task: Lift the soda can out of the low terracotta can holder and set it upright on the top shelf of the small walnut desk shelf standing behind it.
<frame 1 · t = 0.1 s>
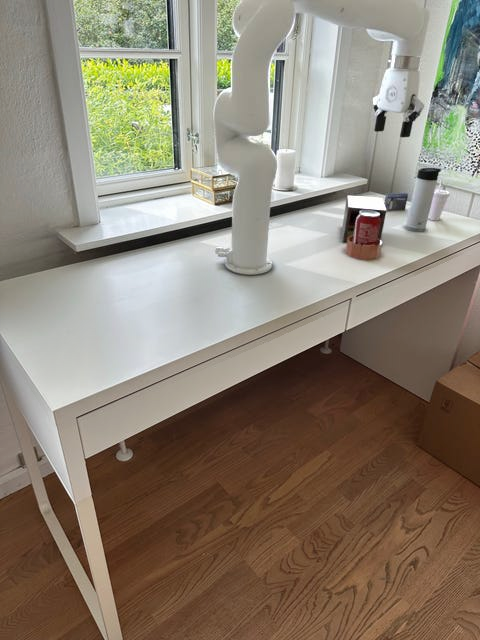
hand: (391, 134, 131), 31 cm above the table, tool pointing down, fingers open, 9 cm apart
mini dv tape: (393, 210, 175), on the table
can holder: (362, 253, 137), on the table
soda can: (362, 253, 137), resting in can holder
travel mug: (415, 229, 158), on the table
smoothie: (433, 219, 168), on the table
desk shelf: (360, 236, 149), on the table
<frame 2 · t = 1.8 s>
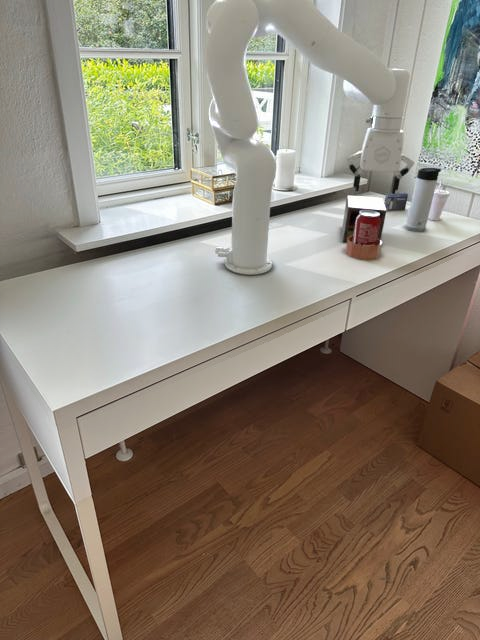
hand: (374, 191, 128), 18 cm above the table, tool pointing down, fingers open, 9 cm apart
nothing on the table moved.
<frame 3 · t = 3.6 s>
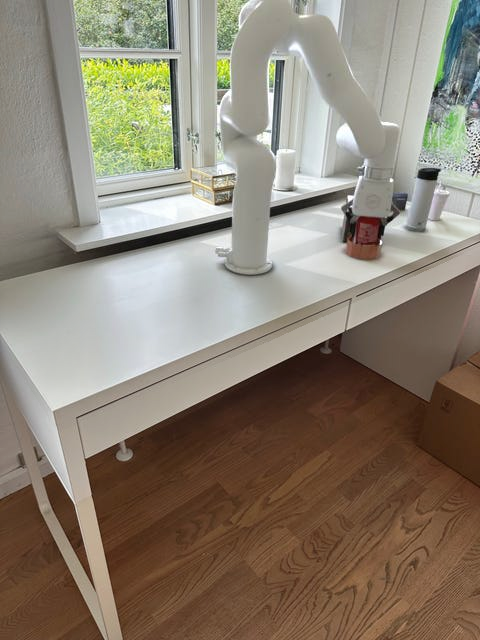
hand: (365, 236, 134), 5 cm above the table, tool pointing down, fingers closed on soda can, 6 cm apart
soda can: (362, 253, 137), resting in can holder, touching gripper
everything else where it was.
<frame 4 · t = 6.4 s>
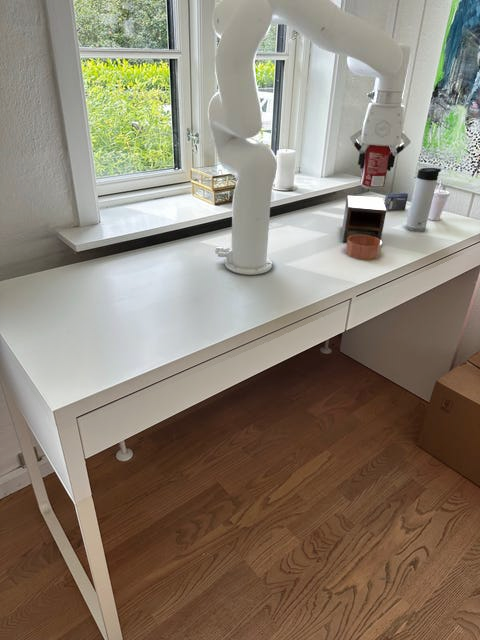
hand: (374, 168, 131), 23 cm above the table, tool pointing down, fingers closed on soda can, 6 cm apart
soda can: (371, 187, 134), point 17 cm above the table, touching gripper
everything else where it was.
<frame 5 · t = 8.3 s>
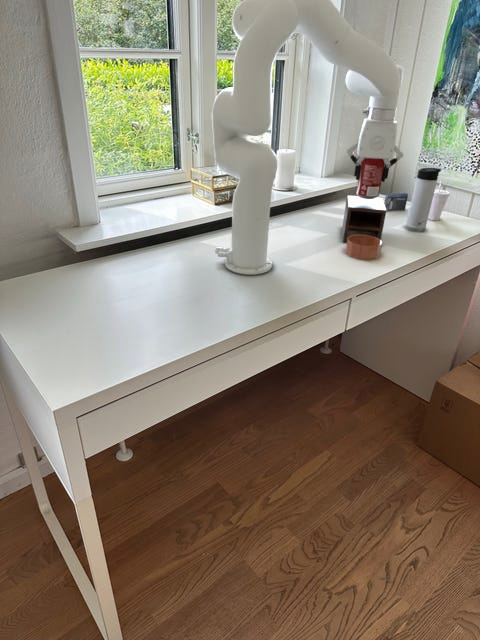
hand: (369, 179, 140), 18 cm above the table, tool pointing down, fingers closed on soda can, 6 cm apart
soda can: (366, 197, 142), point 13 cm above the table, touching gripper
everything else where it was.
when the fingers open (16 cm above the table, at t = 9.4 s): soda can stays where it is, resting on desk shelf.
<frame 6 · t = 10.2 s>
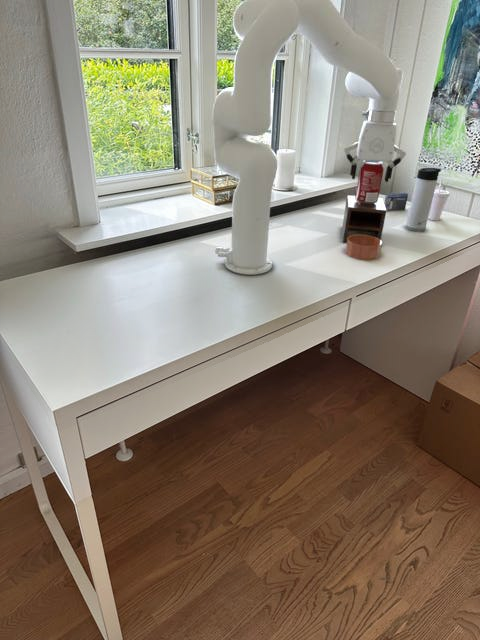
hand: (369, 179, 140), 18 cm above the table, tool pointing down, fingers open, 9 cm apart
soda can: (365, 203, 143), point 11 cm above the table, touching desk shelf
everything else where it was.
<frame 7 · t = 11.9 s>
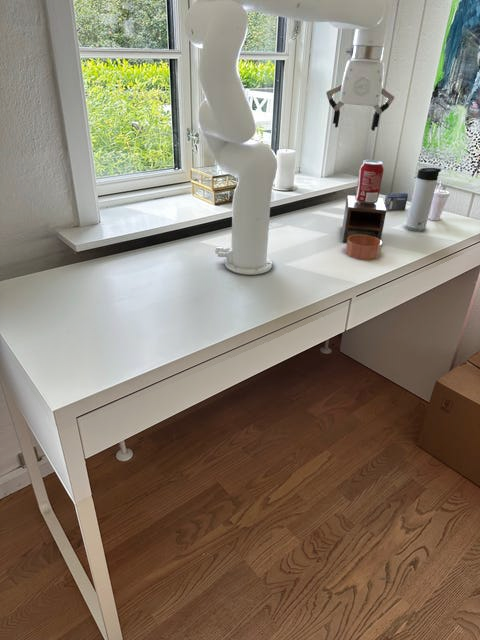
hand: (354, 128, 125), 33 cm above the table, tool pointing down, fingers open, 9 cm apart
nothing on the table moved.
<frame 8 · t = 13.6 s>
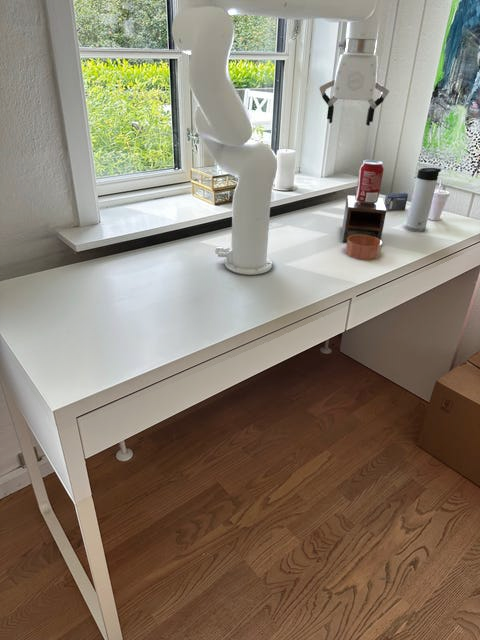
hand: (348, 123, 123), 34 cm above the table, tool pointing down, fingers open, 9 cm apart
nothing on the table moved.
at the end: soda can inside the target area on the desk shelf (0.1 cm from its centre), point 10.8 cm above the desk shelf's base; soda can tilted 0°; the gripper is holding nothing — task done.
